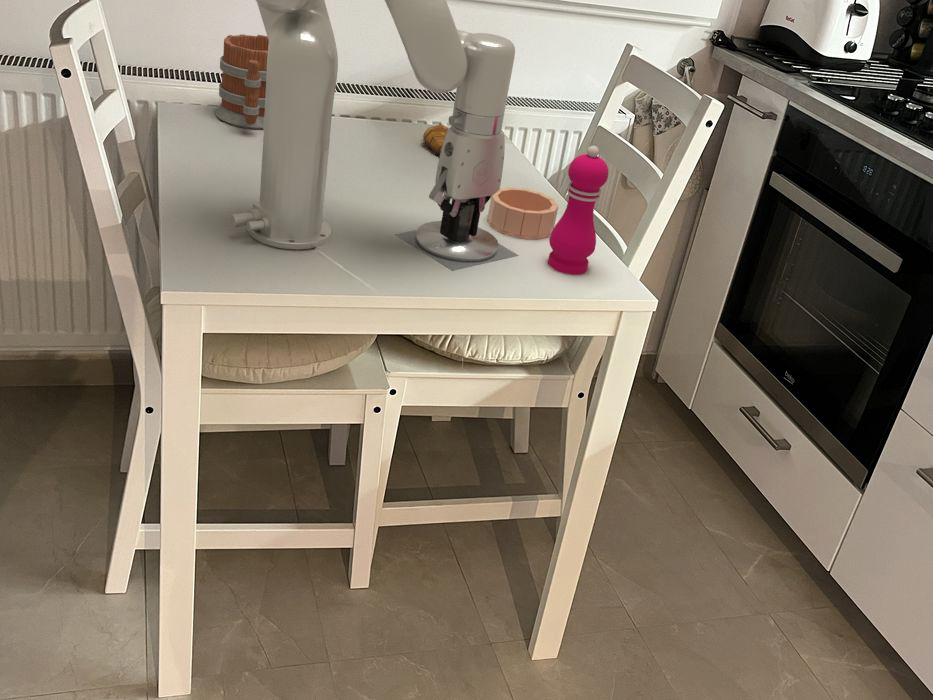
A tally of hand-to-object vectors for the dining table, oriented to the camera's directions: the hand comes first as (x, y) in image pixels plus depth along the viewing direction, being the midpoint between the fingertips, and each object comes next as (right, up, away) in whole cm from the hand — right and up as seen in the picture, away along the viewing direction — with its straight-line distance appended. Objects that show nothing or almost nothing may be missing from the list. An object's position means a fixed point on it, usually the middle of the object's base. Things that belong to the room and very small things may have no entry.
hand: (458, 233), depth 157 cm
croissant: (-4, +22, +43) cm, 49 cm away
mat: (0, -2, +1) cm, 2 cm away
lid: (0, -2, +1) cm, 2 cm away
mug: (-41, +26, +39) cm, 62 cm away
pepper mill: (+17, -5, +1) cm, 18 cm away
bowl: (+10, +2, +12) cm, 16 cm away
